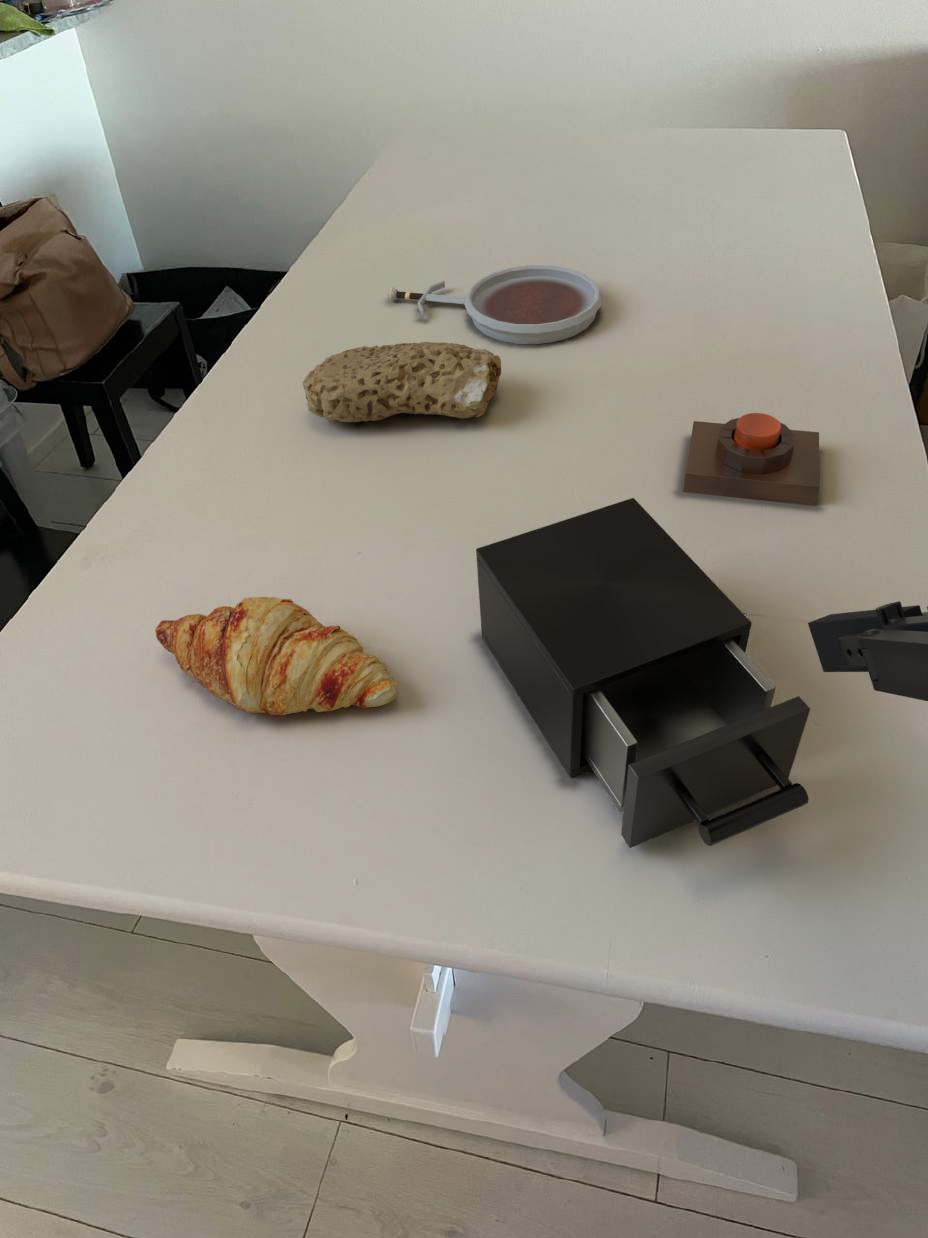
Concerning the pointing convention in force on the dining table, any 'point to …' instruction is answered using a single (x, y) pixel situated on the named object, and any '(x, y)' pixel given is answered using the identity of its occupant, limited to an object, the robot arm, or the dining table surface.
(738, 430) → the button
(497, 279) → the frying pan
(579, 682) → the black drawer unit
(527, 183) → the dining table surface
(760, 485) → the control block
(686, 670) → the open drawer with handle
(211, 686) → the croissant
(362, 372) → the sponge
